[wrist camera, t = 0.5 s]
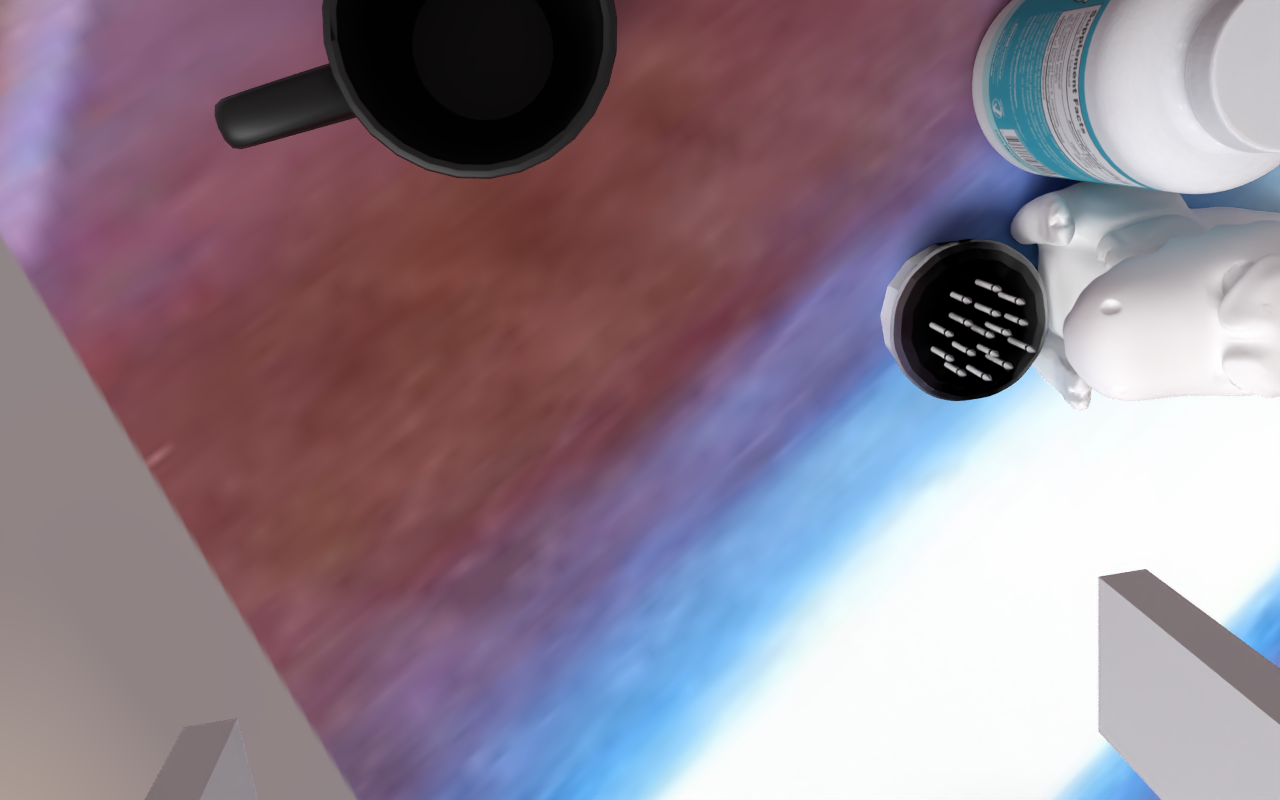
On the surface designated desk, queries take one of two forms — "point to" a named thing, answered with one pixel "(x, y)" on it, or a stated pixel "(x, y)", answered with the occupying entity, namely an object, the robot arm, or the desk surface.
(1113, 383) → the figurine
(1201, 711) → the robot arm
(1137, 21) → the pill bottle
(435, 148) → the mug
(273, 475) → the desk surface
